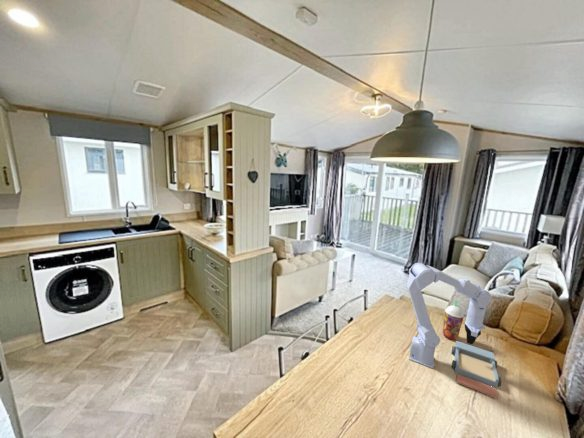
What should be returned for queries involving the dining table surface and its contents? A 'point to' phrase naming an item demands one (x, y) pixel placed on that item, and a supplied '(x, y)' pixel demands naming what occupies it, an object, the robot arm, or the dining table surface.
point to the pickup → (475, 364)
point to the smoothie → (452, 321)
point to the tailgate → (477, 385)
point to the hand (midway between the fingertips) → (469, 343)
